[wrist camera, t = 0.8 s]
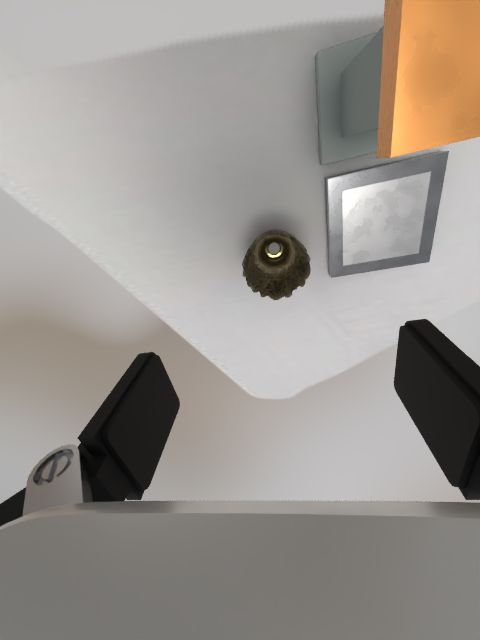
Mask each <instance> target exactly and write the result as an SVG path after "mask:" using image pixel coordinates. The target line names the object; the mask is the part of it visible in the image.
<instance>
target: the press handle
mask: <svg viewBox="0 0 480 640" xmlns="http://www.w3.org/2000/svg"><path fill="white" fill-rule="evenodd" d="M476 137H480V0H385V11H384V29H383V48H382V67H381V86H380V105H379V124H378V142H377V158H391V157H395V156H400V155H404V154H408V153H412V152H417V151H421V150H425V149H429V148H434V147H438V146H442V145H446V144H450V143H455V142H459V141H463V140H467V139H472V138H476Z"/></svg>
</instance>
